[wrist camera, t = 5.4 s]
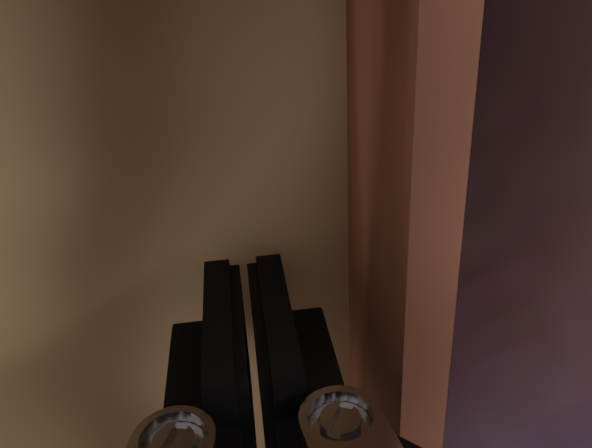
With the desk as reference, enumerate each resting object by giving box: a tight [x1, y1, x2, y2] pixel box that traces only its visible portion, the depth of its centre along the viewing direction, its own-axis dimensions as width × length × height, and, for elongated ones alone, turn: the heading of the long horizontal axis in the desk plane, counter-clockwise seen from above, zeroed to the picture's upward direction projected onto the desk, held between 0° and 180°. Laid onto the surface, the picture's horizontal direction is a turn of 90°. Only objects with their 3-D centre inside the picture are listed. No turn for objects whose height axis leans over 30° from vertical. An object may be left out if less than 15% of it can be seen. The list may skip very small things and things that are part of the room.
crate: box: [0, 0, 484, 448], centre depth 11 cm, size 12×16×5 cm
